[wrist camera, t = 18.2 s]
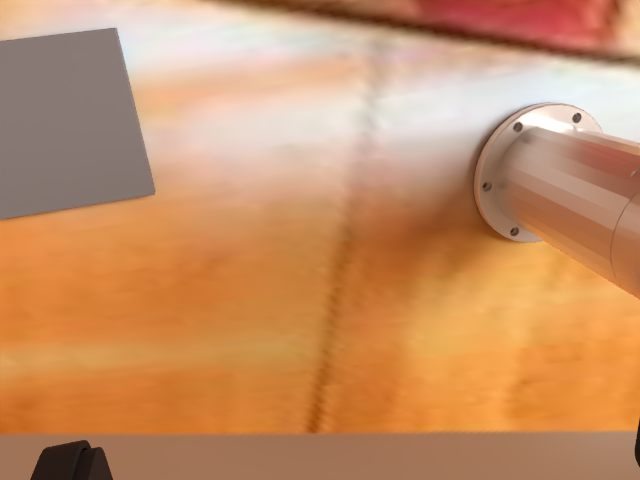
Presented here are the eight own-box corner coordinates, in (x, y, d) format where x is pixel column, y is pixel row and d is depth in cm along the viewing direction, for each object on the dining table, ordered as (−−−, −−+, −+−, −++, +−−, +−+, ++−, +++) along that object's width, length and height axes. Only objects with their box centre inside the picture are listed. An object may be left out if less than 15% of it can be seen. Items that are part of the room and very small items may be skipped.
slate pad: (116, 27, 38) (114, 28, 37) (155, 191, 42) (154, 194, 41) (-69, 49, 36) (-76, 50, 35) (-7, 217, 41) (-12, 221, 40)
